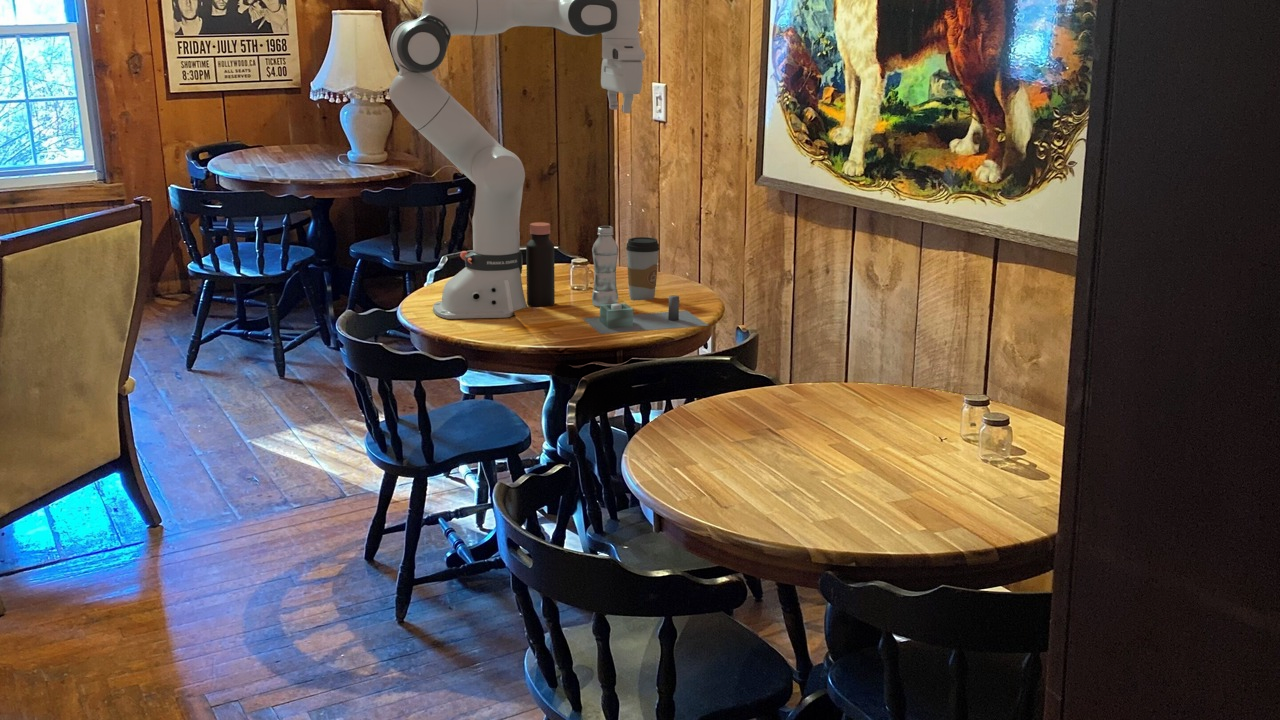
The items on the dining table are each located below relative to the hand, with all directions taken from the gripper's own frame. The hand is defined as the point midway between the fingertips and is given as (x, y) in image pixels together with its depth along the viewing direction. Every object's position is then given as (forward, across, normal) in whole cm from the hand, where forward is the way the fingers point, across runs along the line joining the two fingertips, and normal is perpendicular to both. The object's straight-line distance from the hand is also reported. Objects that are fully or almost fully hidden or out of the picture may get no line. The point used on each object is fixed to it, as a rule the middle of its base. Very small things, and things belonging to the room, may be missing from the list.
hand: (619, 111), depth 281 cm
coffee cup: (+47, -1, +7) cm, 47 cm away
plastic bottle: (+47, +6, -5) cm, 47 cm away
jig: (+47, +24, -1) cm, 52 cm away
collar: (+46, +24, -8) cm, 52 cm away
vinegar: (+47, -2, -19) cm, 51 cm away
